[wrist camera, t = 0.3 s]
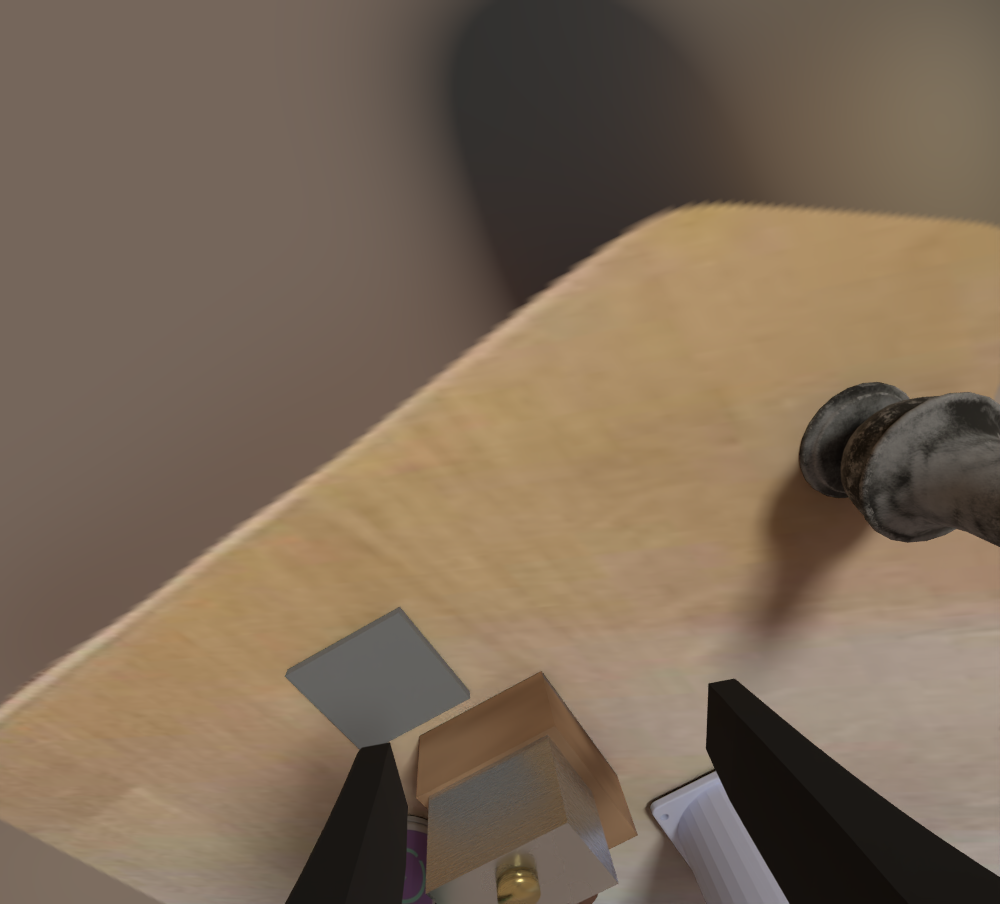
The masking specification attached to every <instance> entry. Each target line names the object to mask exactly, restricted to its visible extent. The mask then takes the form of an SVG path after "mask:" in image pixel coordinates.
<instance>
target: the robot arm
mask: <svg viewBox="0 0 1000 904" xmlns="http://www.w3.org/2000/svg"><path fill="white" fill-rule="evenodd" d="M706 750H707V752H708V754H709V757H710V759H711V761H712V763H713V766H714V768H715V770H716V771H714V772H712V773H710V774H708V775H706V776H704V777H702V778H700V779H698V780H696V781H694V782H692V783H690V784H688V785H686V786H684V787H682V788H680V789H678V790H676V791H674V792H672V793H670V794H668V795H666V796H664V797H662V798H660V799H658V800H656V801H654V802H653V803H652V804H651V806H650V809H651V812H652V814H653V816H654V818H655V819H656V820H657V822H658V823H659V825H660V826H661V827H662V829H663V830H664V832H665V833H666V834H667V836H668V837H669V839H670V840H671V841H672V843H673V844H674V846H675V847H676V848H677V850H678V851H679V853H680V854H681V855H682V857H683V858H684V860H685V861H686V862H687V864H688V865H689V867H690V868H691V869H692V871H693V873H694V876H695V878H696V880H697V883H698V885H699V887H700V890H701V892H702V895H703V897H704V899H705V902H706V904H1000V877H999V876H997V875H996V874H994V873H993V872H991V871H990V870H988V869H986V868H985V867H983V866H982V865H980V864H979V863H977V862H976V861H974V860H973V859H971V858H970V857H968V856H967V855H965V854H964V853H962V852H961V851H959V850H958V849H956V848H955V847H953V846H951V845H950V844H948V843H947V842H945V841H944V840H942V839H941V838H939V837H938V836H937V835H935V834H934V833H932V832H931V831H929V830H928V829H926V828H925V827H924V826H922V825H921V824H919V823H918V822H916V821H915V820H914V819H912V818H911V817H909V816H908V815H907V814H905V813H904V812H902V811H901V810H900V809H898V808H897V807H895V806H894V805H893V804H891V803H890V802H889V801H887V800H886V799H885V798H883V797H882V796H880V795H879V794H878V793H876V792H875V791H874V790H872V789H871V788H870V787H868V786H867V785H866V784H864V783H863V782H862V781H860V780H859V779H858V778H856V777H855V776H854V775H852V774H851V773H850V772H849V771H847V770H846V769H845V768H843V767H842V766H841V765H840V764H838V763H837V762H836V761H835V760H833V759H832V758H831V757H829V756H828V755H827V754H826V753H824V752H823V751H822V750H821V749H819V748H818V747H817V746H815V745H814V744H813V743H812V742H811V741H809V740H808V739H807V738H806V737H804V736H803V735H802V734H801V733H799V732H798V731H797V730H796V729H795V728H793V727H792V726H791V725H790V724H788V723H787V722H786V721H785V720H784V719H782V718H781V717H780V716H779V715H778V714H776V713H775V712H774V711H773V710H772V709H770V708H769V707H768V706H767V705H766V704H764V703H763V702H762V701H761V700H760V699H759V698H757V697H756V696H755V695H754V694H753V693H751V692H750V691H749V690H748V689H747V688H745V687H744V686H743V685H742V684H741V683H739V682H738V681H737V680H736V679H730V680H725V681H719V682H714V683H709V686H708V711H707V737H706ZM407 818H408V806H407V802H406V798H405V795H404V791H403V788H402V784H401V780H400V777H399V773H398V770H397V766H396V762H395V759H394V755H393V752H392V748H391V745H390V742H389V743H384V744H378V745H373V746H367V747H362V748H361V749H360V750H359V752H358V753H357V755H356V758H355V760H354V763H353V765H352V767H351V770H350V772H349V774H348V777H347V779H346V781H345V783H344V786H343V788H342V790H341V792H340V795H339V797H338V799H337V801H336V803H335V805H334V808H333V810H332V812H331V814H330V816H329V818H328V820H327V823H326V825H325V827H324V829H323V831H322V833H321V835H320V837H319V839H318V841H317V843H316V845H315V847H314V849H313V851H312V853H311V855H310V857H309V859H308V861H307V863H306V865H305V867H304V869H303V871H302V873H301V875H300V877H299V879H298V881H297V882H296V884H295V886H294V888H293V890H292V892H291V894H290V895H289V897H288V899H287V901H286V903H285V904H402V898H403V890H404V881H405V871H406V854H407Z"/></svg>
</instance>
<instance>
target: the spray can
mask: <svg viewBox="0 0 1000 904" xmlns="http://www.w3.org/2000/svg"><path fill="white" fill-rule="evenodd" d="M427 836H428V820H426V819H423V818H419V817H416V816H408V818H407V854H406V871H405V881H404V890H403V898H402V904H436V903H435V902H434V901H433V900H432V899H431V898H430V897H428V896H427V895H426V894H425V892H426V864H427Z"/></svg>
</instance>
